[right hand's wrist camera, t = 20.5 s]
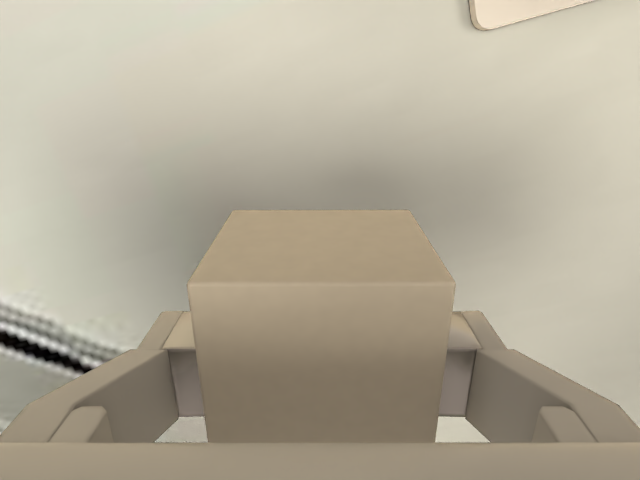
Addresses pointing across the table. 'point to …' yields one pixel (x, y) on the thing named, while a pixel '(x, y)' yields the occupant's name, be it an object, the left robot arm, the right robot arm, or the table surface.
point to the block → (321, 328)
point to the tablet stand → (513, 10)
